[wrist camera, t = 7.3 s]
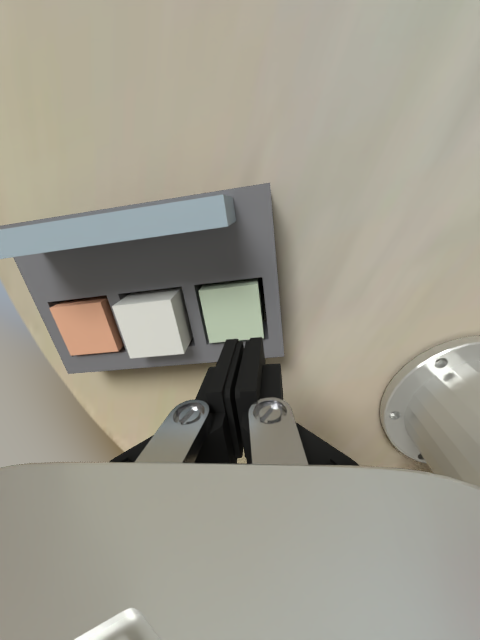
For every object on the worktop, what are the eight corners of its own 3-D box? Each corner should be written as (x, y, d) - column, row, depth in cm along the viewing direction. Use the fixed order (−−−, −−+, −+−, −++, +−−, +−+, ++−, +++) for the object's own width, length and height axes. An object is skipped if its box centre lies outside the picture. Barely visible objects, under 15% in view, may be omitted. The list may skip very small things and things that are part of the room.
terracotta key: (123, 288, 19) (100, 302, 17) (137, 332, 21) (118, 351, 18) (78, 293, 20) (49, 308, 17) (95, 336, 21) (70, 355, 18)
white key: (184, 284, 18) (170, 299, 15) (195, 332, 19) (184, 353, 16) (134, 290, 18) (111, 306, 15) (148, 336, 20) (130, 358, 17)
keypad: (268, 186, 16) (273, 174, 10) (281, 336, 20) (290, 395, 14) (37, 222, 18) (-83, 232, 12) (91, 353, 22) (24, 412, 16)
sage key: (258, 272, 18) (257, 284, 15) (263, 319, 20) (264, 338, 17) (207, 278, 19) (198, 291, 16) (216, 324, 20) (209, 343, 17)
